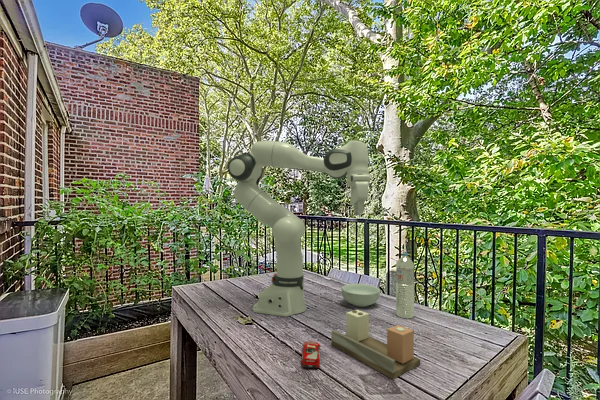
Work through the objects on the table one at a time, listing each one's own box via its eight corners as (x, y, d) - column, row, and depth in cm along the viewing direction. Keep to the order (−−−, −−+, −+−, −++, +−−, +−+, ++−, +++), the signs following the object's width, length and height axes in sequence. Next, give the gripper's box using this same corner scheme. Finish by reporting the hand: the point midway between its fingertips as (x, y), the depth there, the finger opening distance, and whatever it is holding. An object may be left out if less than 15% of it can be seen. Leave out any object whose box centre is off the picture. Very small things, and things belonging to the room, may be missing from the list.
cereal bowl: (334, 300, 139) (334, 285, 139) (364, 296, 146) (364, 282, 146) (355, 312, 123) (355, 295, 124) (387, 307, 130) (387, 291, 130)
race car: (303, 347, 93) (303, 334, 93) (320, 348, 93) (320, 335, 93) (299, 370, 80) (299, 355, 80) (319, 371, 80) (320, 356, 80)
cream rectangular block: (357, 332, 100) (357, 308, 100) (368, 337, 96) (368, 312, 96) (346, 336, 97) (346, 311, 97) (357, 341, 93) (357, 316, 93)
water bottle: (415, 319, 116) (415, 254, 117) (397, 318, 117) (397, 254, 118) (412, 313, 123) (412, 252, 123) (395, 312, 124) (395, 251, 125)
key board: (357, 335, 101) (358, 322, 102) (420, 364, 83) (420, 348, 83) (331, 345, 94) (331, 330, 94) (392, 379, 76) (392, 361, 76)
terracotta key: (398, 351, 87) (398, 323, 87) (413, 358, 83) (413, 329, 83) (387, 356, 84) (387, 327, 84) (402, 363, 80) (402, 334, 80)
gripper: (347, 185, 132) (347, 216, 130) (353, 175, 112) (354, 212, 110) (361, 185, 132) (362, 216, 130) (370, 174, 111) (371, 212, 109)
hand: (358, 214), depth 120 cm, fingers open, 8 cm apart
